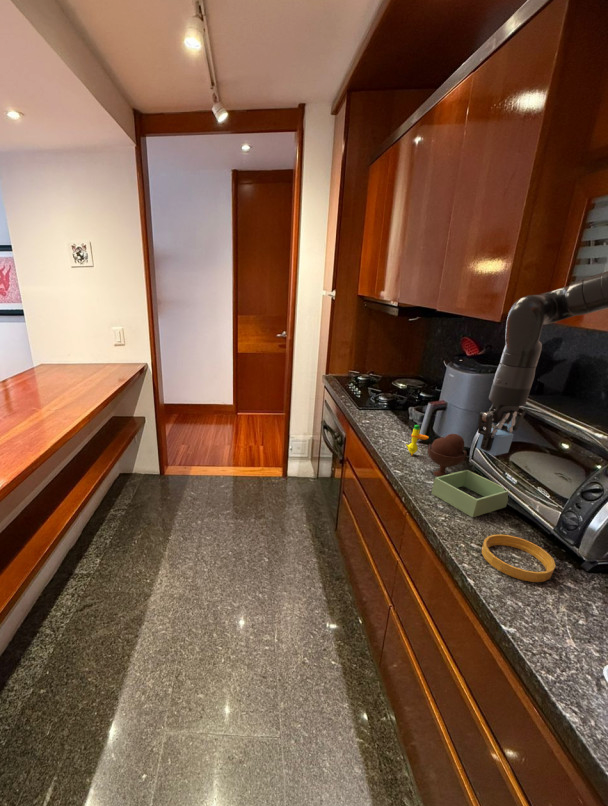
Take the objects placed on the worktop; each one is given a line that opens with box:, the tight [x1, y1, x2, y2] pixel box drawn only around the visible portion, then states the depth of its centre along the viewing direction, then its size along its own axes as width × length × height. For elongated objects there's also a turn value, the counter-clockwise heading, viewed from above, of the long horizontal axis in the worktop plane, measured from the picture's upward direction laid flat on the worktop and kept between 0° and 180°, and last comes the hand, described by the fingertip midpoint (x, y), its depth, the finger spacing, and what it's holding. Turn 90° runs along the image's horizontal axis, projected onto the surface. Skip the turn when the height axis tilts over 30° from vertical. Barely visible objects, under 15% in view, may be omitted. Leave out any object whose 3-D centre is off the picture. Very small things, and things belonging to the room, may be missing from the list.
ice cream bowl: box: [427, 433, 468, 477], centre depth 122 cm, size 11×11×15 cm
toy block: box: [475, 427, 515, 457], centre depth 98 cm, size 5×5×5 cm
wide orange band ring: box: [481, 533, 557, 583], centre depth 87 cm, size 13×13×3 cm
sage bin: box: [431, 469, 509, 518], centre depth 110 cm, size 13×13×6 cm
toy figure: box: [405, 424, 429, 456], centre depth 136 cm, size 7×4×12 cm, turn 58°
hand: (492, 447), depth 98 cm, fingers closed on toy block, 5 cm apart
